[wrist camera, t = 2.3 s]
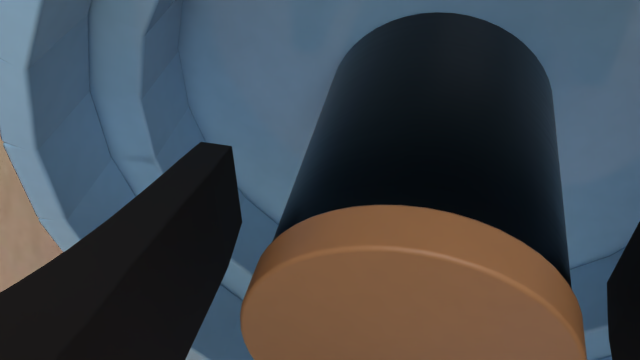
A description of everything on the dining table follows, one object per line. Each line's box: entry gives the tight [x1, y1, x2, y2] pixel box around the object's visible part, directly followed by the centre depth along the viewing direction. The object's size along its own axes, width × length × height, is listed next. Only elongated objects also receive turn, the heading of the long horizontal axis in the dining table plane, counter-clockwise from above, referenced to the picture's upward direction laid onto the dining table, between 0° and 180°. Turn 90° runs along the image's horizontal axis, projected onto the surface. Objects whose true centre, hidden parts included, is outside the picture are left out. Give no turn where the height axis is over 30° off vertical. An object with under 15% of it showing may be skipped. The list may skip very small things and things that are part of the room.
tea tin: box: [240, 12, 587, 360], centre depth 11 cm, size 5×5×6 cm
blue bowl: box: [0, 0, 640, 360], centre depth 12 cm, size 15×15×4 cm
